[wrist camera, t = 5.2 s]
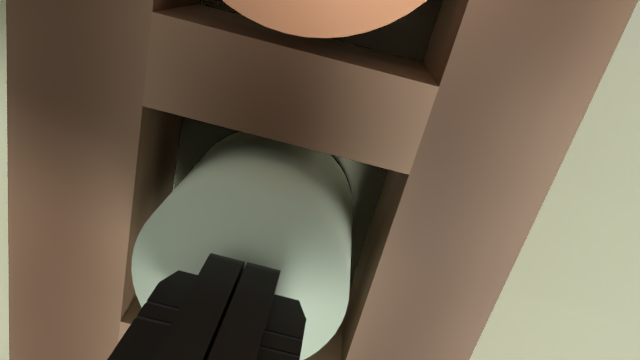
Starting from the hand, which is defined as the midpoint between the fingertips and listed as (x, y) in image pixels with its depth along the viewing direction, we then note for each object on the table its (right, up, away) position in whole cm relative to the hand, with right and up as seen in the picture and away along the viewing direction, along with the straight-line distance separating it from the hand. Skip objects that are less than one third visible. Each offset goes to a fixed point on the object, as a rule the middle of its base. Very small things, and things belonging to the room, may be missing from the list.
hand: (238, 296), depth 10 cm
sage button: (0, +2, +4) cm, 4 cm away
